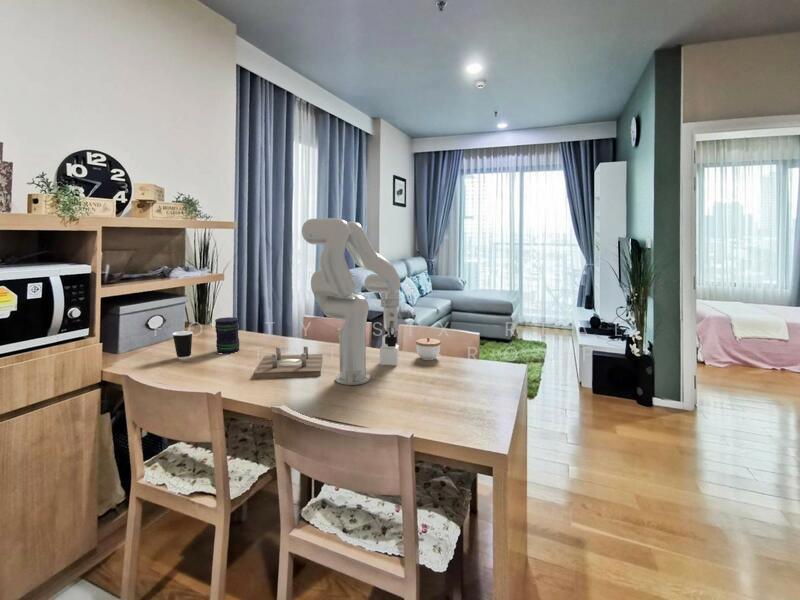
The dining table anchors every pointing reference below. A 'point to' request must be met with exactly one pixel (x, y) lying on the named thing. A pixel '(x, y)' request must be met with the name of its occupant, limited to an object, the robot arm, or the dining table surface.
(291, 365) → the peg board
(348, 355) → the robot arm
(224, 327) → the storage jar
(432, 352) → the lidded jar
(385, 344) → the medicine bottle
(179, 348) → the dixie cup
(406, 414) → the dining table surface
